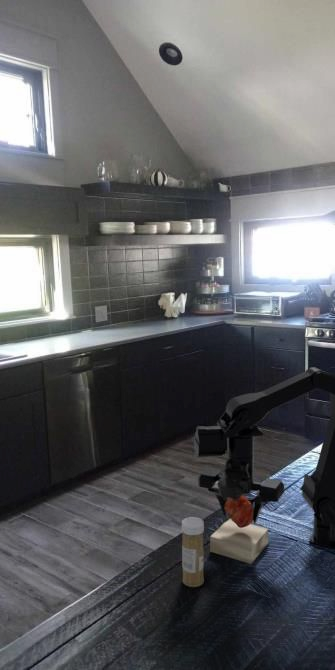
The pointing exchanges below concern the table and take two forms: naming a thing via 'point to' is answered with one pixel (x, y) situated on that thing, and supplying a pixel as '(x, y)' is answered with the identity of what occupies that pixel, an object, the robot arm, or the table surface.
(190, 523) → the sprinkles bottle
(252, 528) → the pale wooden block
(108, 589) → the table surface
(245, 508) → the red oval lump
